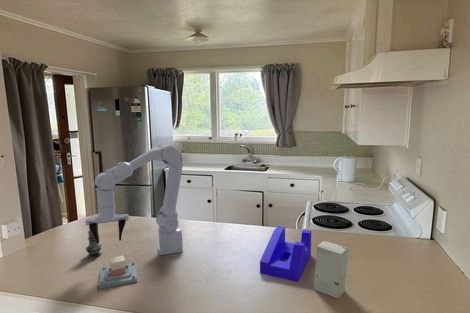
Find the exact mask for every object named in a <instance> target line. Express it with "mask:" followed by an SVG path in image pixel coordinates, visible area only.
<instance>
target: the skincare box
mask: <svg viewBox="0 0 470 313" xmlns="http://www.w3.org/2000/svg"><path fill="white" fill-rule="evenodd" d="M348 256H349V248H348V247H345V246H342V245H340V244H337V243H332V242H329V241H325V240H323V241H322V242H320V243H319V244H317V245H316V257H315V269H314V270H315V271H314V283H313V289H314V291H316V292H317V291H318V292H319V293H322V294H325V295H328V296H330V297H333V298H334V299H339V298H340V297H341V296H342V295H343V294H344V293H345V290H346V280H347V279H346V278H347V267H348V258H349V257H348Z"/></svg>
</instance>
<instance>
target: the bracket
mask: <svg viewBox="0 0 470 313" xmlns="http://www.w3.org/2000/svg"><path fill="white" fill-rule="evenodd" d="M311 256H312V231H311V230H307V229H302V231H301V240H300V241H295V242H293V243H292V242H288V241H286V226H280V225H279V226H276V228H275V229H274V230H273V232H272V234H271V236H270V238H269V241H268V243H267V245H266V247H265V249H264V251H263V254H262V256H261V258H260V260H259V274H261V275H266V276H269V277H273V278H278V279H282V280H283V279H284V280H286V281H292V282H296V283H298V282H299V281H300V279H301V277H302V275H303V273H304V271H305V270H306V266H307V264H308V262H309V261H310V258H311ZM286 259H287V260H286ZM285 260H286V261H285Z"/></svg>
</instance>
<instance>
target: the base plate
mask: <svg viewBox="0 0 470 313" xmlns="http://www.w3.org/2000/svg"><path fill="white" fill-rule="evenodd" d="M125 266H126V274H124V275H118V276H113V277H112V274H111V266H108V267H107V266H103V267H101V270H100V275H99V280H98V285H97V286H98V289H105V288H110V287H116V286H120V285H121V286H122V285H127V284H133V283H138V276H137V275H138V273H137V270H138V269H137V262H135V261H132V262H131V263H125Z"/></svg>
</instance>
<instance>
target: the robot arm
mask: <svg viewBox="0 0 470 313" xmlns="http://www.w3.org/2000/svg"><path fill="white" fill-rule="evenodd" d="M152 161H156V162H157V161H161V162H163V163H164V164H165V166H166V167H167V168H168V172H167V178H166V183H165V190H164V195H163V196H164V197H163V202H162V203H163V204H162V205H161V207H160V208H159V212H158V214H157V215H156V216H155V222H156V224H157V225H158V246H157V249H158V254H159V256H164V255H171V254H177V253H183V252H184V249H183V248H184V247H183V246H184V245H183V233H182V229H181V227H178V226H179V220H178V216H179V214H178V210H177V204H178V203H177V201H178V196H179V191H180V184H181V179H182V172H183V163H182V159H181V157H180V151H179V150H178V149H177V148H176V147H175V146H172V145H167V144H161V143H160V144H159V145H157V146H154V147H152V148H150V149H149V150H147V151H146V152H144V153H142V154H141V155H138V157H136V158H134V159H133V160H131V161H129V162H126V161H123V162H121V161H119V162H117V164H116V165H114V166H113V167H111V168H109V169H108V168H107V169H105V172H101V173H98V174H97V175H96V177H95V178H94V182H93V183H94V184H95V186H96V193H97V195H96V197H97V198H96V199H97V200H96V201H97V211H98V216H94V217H90V218H86V219H85V221H84V222H85V226H89V227H88V229H89V230H91V232H92V233H93V235H94V237H95V239H96V243H97V244H100V234H99V224H105V223H114V222H115V223H116V222H118V223H117V225H118V241H122V235H123V232H124V228H125V226H126V222H128V221H129V214H128V213H127V214H117V213H116V202H115V192H114V188H115V186H116V184H119V183H120V182H122V181H123V180H126V179H127V178H128V177H131V176H133V173H134V171H135V170H136V169H138V168H141V167H143V166H144V165H146V164H148V163H151V162H152Z"/></svg>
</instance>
